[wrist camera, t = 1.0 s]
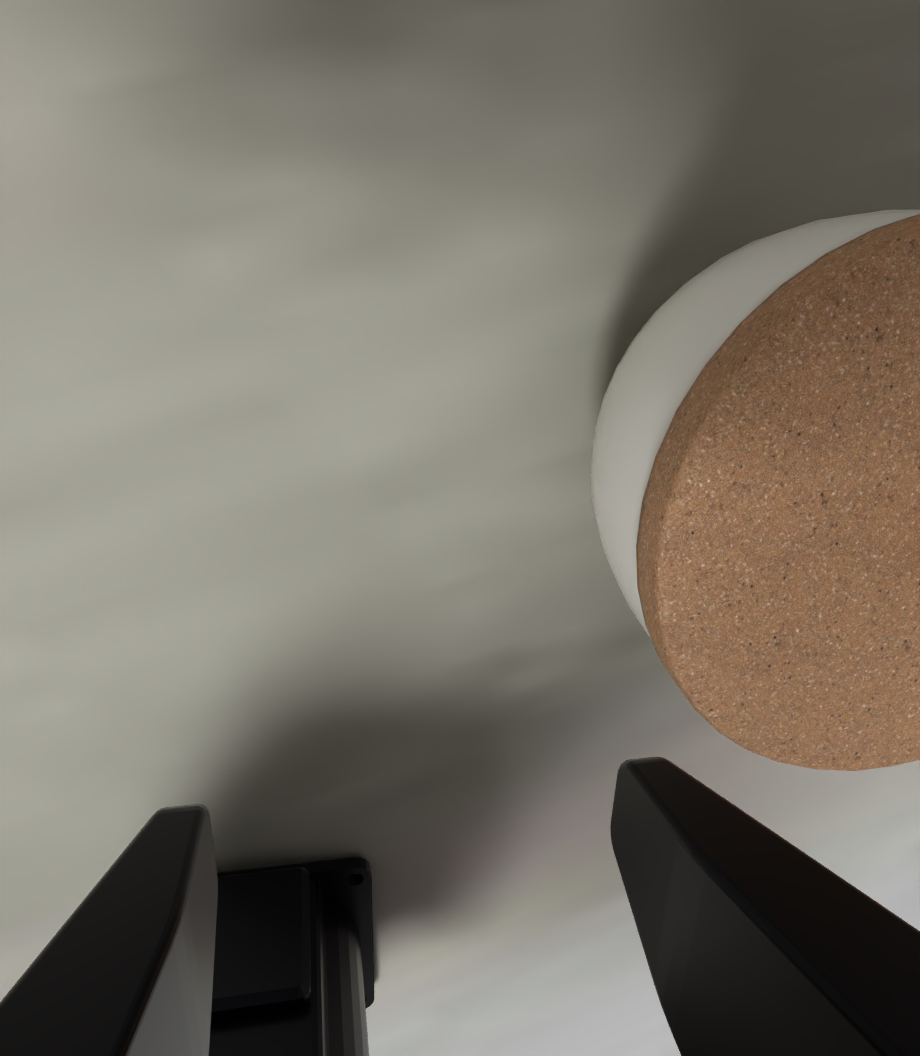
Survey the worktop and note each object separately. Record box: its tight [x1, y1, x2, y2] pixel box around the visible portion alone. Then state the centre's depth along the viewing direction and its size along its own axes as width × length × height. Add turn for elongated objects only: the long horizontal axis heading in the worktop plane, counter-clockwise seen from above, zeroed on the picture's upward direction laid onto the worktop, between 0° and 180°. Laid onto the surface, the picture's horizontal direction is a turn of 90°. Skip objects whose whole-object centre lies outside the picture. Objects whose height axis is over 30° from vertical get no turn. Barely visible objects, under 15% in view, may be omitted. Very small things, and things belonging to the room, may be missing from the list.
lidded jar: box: [591, 210, 920, 771], centre depth 17 cm, size 11×11×9 cm
